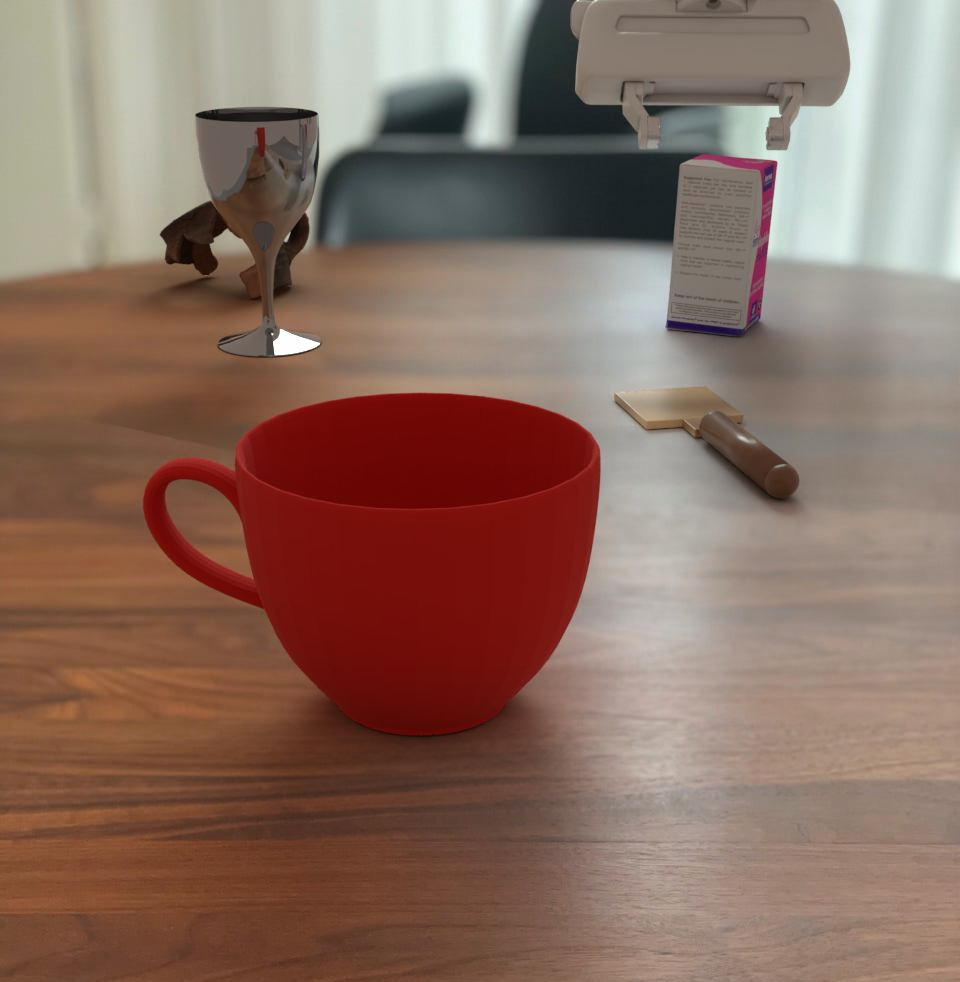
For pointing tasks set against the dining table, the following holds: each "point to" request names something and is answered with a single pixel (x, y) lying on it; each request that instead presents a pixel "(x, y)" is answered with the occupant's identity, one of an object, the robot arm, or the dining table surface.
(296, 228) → the brown irregular piece
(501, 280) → the dining table surface
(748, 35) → the robot arm
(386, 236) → the dining table surface
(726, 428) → the spatula
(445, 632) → the ceramic cup
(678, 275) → the supplement box
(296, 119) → the wine glass
